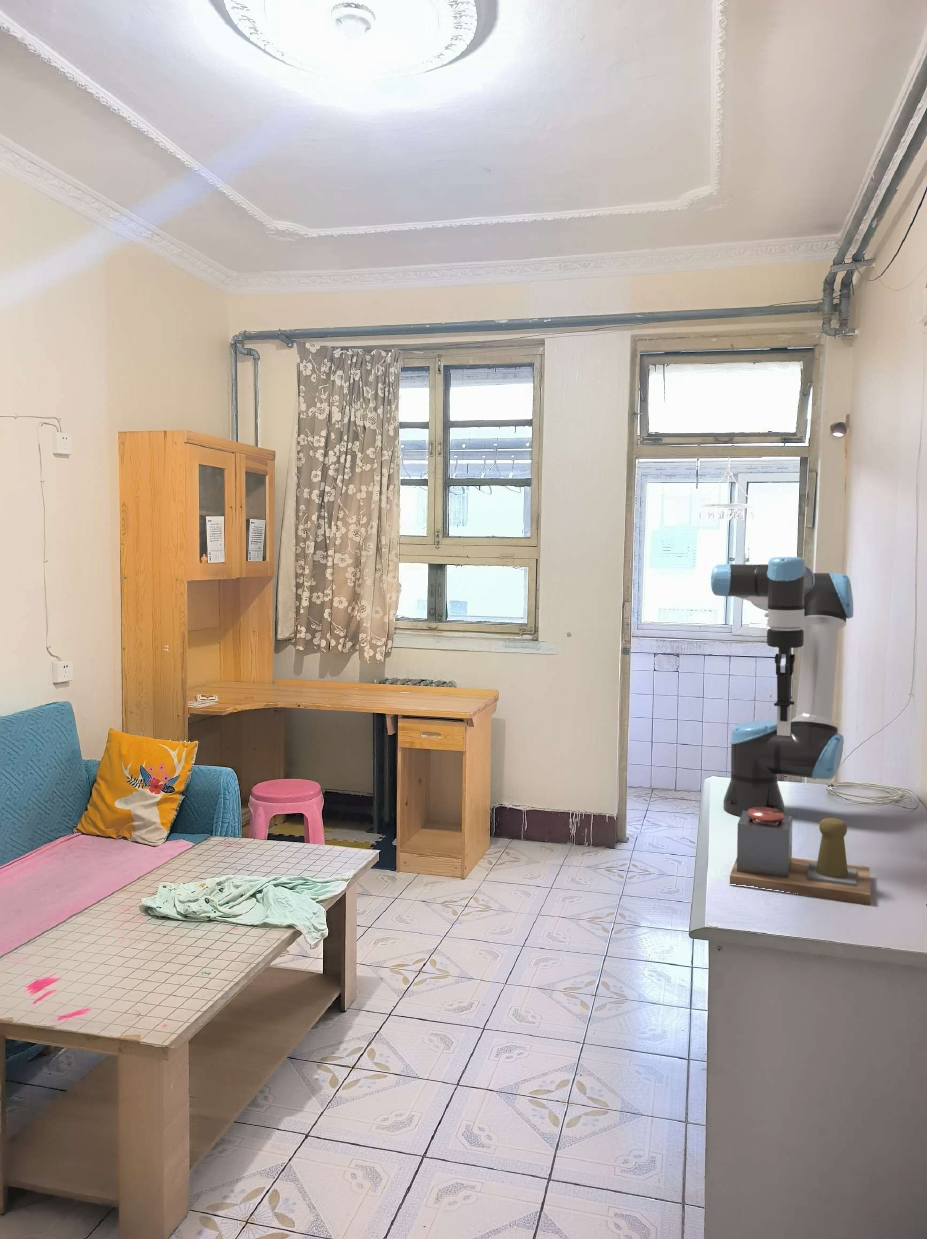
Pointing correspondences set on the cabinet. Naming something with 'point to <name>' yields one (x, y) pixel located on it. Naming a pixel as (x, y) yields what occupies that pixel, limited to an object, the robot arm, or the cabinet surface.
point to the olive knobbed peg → (832, 849)
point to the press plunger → (765, 815)
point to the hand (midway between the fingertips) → (783, 734)
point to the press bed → (812, 882)
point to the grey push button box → (764, 847)
